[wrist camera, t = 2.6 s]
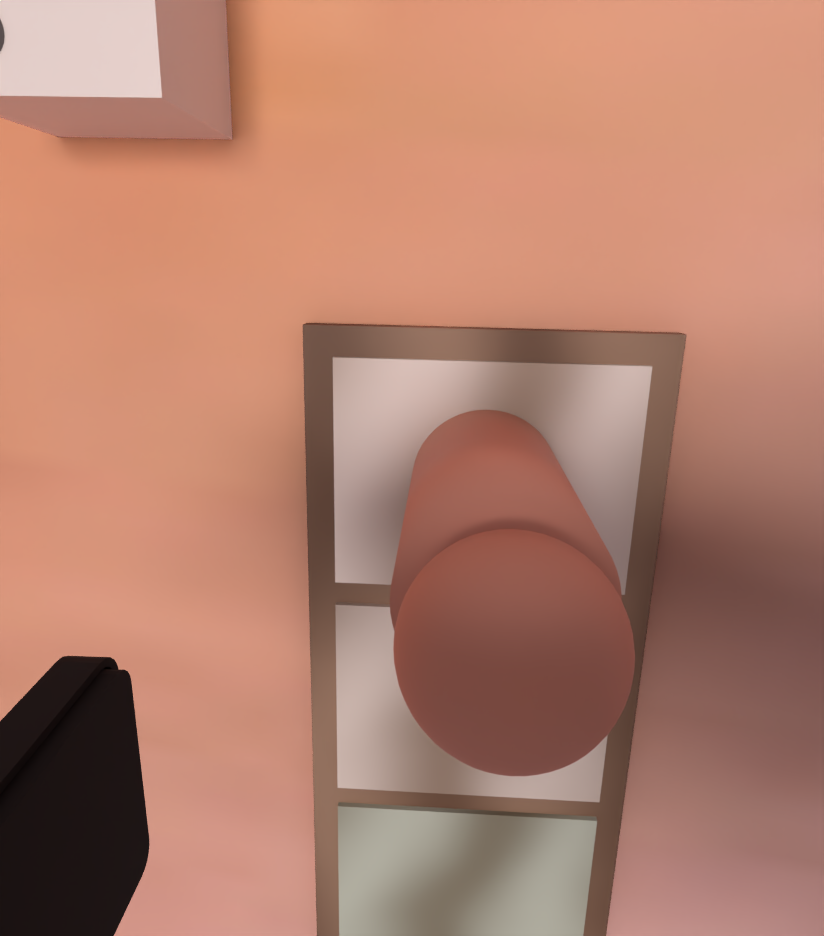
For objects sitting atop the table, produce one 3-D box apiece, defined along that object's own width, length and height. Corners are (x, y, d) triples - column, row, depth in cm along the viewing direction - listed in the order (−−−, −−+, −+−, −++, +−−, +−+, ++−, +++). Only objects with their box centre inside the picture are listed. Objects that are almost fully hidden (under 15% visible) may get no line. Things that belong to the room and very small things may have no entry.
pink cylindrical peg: (563, 412, 20) (703, 588, 9) (551, 551, 21) (660, 856, 10) (413, 406, 20) (369, 573, 9) (410, 545, 21) (367, 838, 10)
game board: (679, 332, 20) (688, 335, 19) (595, 972, 27) (600, 993, 26) (306, 323, 20) (301, 325, 20) (320, 954, 27) (316, 973, 27)
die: (223, -70, 18) (138, -198, 13) (233, 140, 19) (159, 96, 14) (36, -70, 18) (-118, -197, 13) (60, 137, 19) (-71, 93, 15)
